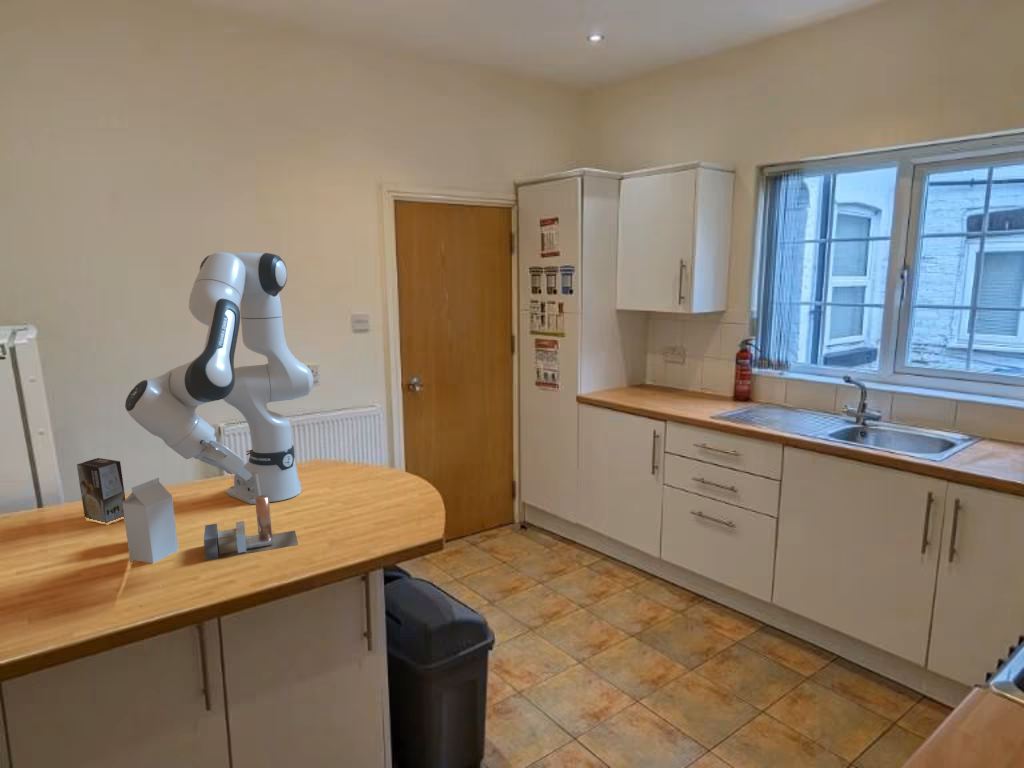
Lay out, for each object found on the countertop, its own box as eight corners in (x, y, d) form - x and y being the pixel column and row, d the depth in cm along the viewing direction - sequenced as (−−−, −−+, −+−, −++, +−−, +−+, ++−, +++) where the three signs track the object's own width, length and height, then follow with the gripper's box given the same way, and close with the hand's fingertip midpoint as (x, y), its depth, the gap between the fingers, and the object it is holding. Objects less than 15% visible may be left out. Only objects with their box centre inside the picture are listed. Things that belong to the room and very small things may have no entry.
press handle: (238, 553, 148) (233, 507, 146) (237, 539, 156) (233, 495, 153) (273, 547, 151) (269, 502, 149) (271, 534, 158) (267, 491, 156)
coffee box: (129, 517, 175) (122, 460, 172) (107, 526, 169) (99, 467, 166) (106, 512, 178) (98, 457, 175) (83, 521, 172) (75, 464, 169)
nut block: (219, 553, 149) (217, 537, 148) (219, 546, 152) (218, 531, 151) (238, 550, 150) (236, 534, 149) (237, 543, 154) (236, 528, 153)
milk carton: (179, 555, 151) (170, 479, 148) (153, 569, 145) (143, 489, 141) (156, 551, 153) (146, 476, 150) (130, 565, 147) (119, 486, 143)
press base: (206, 566, 146) (203, 540, 144) (208, 550, 154) (205, 525, 152) (298, 550, 153) (296, 525, 152) (295, 536, 161) (293, 511, 160)
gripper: (221, 432, 137) (268, 470, 145) (189, 423, 152) (233, 458, 159) (200, 456, 134) (249, 493, 142) (169, 444, 149) (215, 478, 157)
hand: (240, 474), depth 151 cm, fingers open, 8 cm apart
